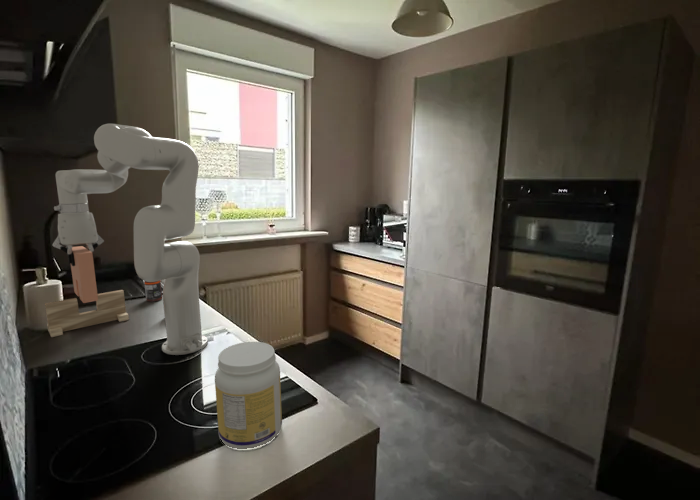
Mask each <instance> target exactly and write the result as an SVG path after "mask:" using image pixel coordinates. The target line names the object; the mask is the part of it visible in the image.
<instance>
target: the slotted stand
mask: <svg viewBox="0 0 700 500" xmlns="http://www.w3.org/2000/svg"><path fill="white" fill-rule="evenodd" d="M124 291H125V290H123V289H119V290H113V291H107V292H103V293H102V292H101V293H97V294H98V301H95V304H96V309H95V310H89V311H84V312H83V311H82V312H80V311H79V310H80V309H79V303H78V302H79V301H78V299H77V298H78V297H74V298H73V297H72V298H68V299H62V300H61V299H60V300H57V301H56V300H55V301H51V302H45V303H44V308H45V313H46V321H47V324H46V326H47V331H48V334H49V335H50V337H51V338H54V337H59V336H63V335H64V332H67V331H72V330H76V329H81V328H87V327H90V326H94V325H98V324H103V323H109V322H114V321H118V323H121V322H126V321H128V320H130V318H129V317H130V315H129V313H128V312H127V309H126V301H125V300H126V299H125V292H124Z"/></svg>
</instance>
